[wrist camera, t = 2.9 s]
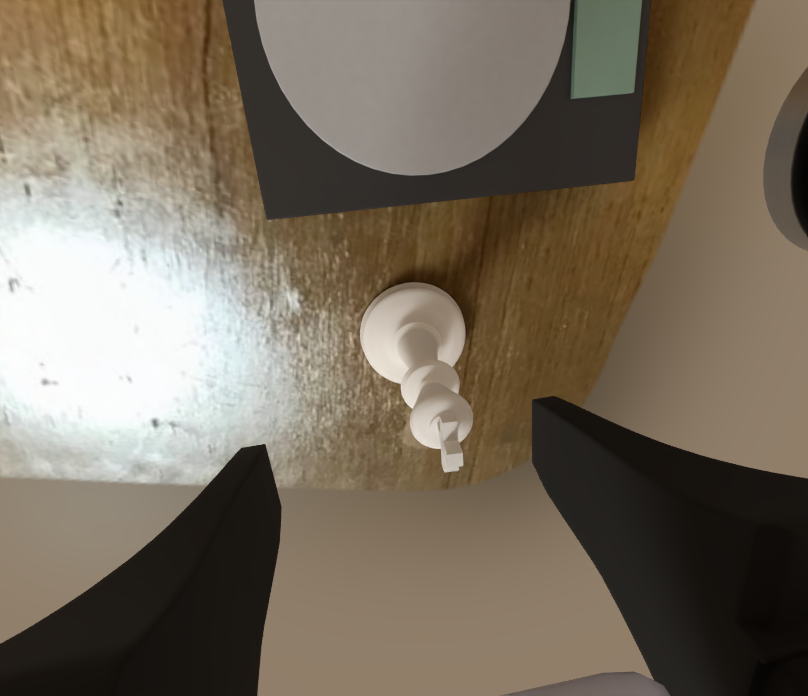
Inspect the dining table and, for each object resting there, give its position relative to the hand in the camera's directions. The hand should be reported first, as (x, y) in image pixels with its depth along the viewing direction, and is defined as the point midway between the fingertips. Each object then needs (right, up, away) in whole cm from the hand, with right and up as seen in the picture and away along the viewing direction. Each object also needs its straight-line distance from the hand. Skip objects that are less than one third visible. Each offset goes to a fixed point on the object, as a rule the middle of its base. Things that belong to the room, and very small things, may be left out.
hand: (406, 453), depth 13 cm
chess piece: (0, +4, +10) cm, 10 cm away
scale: (+1, +15, +5) cm, 16 cm away
